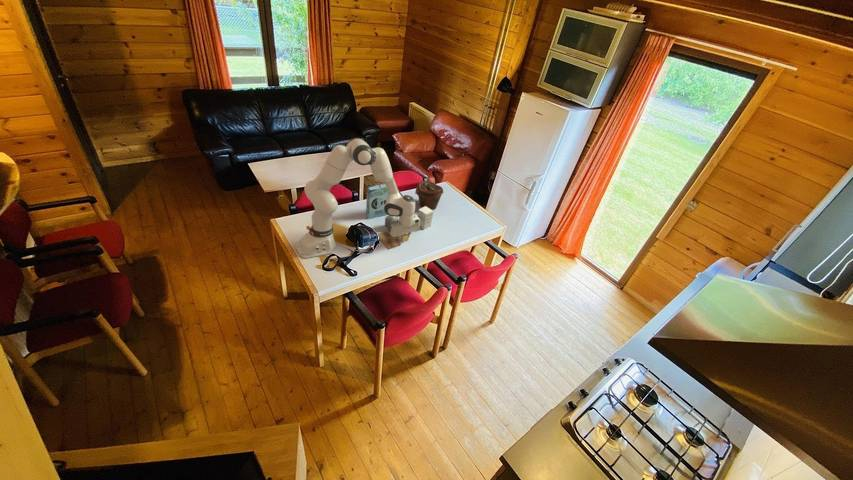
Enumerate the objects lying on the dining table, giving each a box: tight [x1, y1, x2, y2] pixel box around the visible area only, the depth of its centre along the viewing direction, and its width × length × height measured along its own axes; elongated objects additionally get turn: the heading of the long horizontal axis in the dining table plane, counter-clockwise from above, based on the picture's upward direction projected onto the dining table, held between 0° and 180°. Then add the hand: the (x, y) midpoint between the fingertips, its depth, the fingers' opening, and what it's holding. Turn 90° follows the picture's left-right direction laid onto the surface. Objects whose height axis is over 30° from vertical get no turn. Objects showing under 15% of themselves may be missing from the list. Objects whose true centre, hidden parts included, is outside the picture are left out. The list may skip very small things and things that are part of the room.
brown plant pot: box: [414, 180, 444, 211], centre depth 262 cm, size 18×20×18 cm
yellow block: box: [396, 233, 409, 243], centre depth 233 cm, size 12×4×4 cm, turn 37°
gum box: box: [365, 182, 388, 220], centre depth 244 cm, size 20×5×23 cm, turn 123°
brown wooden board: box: [377, 230, 402, 250], centre depth 230 cm, size 9×16×1 cm, turn 36°
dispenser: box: [384, 215, 399, 232], centre depth 236 cm, size 12×7×10 cm, turn 36°
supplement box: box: [417, 206, 434, 230], centre depth 244 cm, size 7×7×13 cm
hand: (404, 238), depth 231 cm, fingers closed on yellow block, 4 cm apart
